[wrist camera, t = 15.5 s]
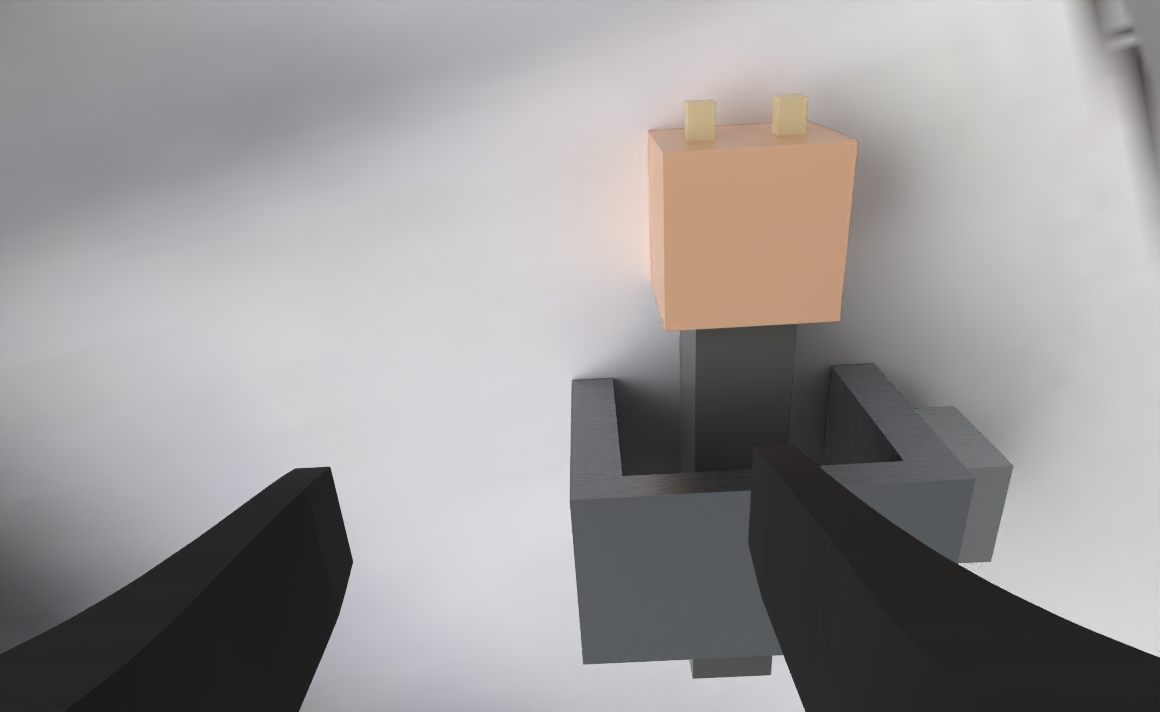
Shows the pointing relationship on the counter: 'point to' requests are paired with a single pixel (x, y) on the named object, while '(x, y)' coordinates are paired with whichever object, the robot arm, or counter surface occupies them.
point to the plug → (744, 276)
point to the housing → (722, 508)
